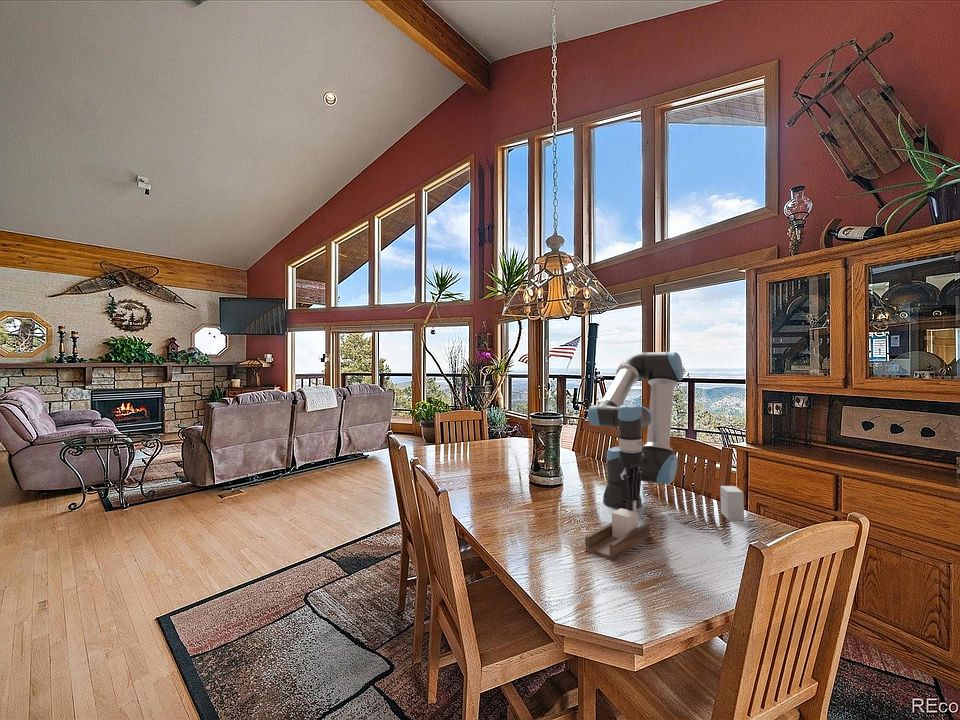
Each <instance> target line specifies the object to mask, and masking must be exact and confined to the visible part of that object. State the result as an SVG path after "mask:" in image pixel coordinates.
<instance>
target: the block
mask: <svg viewBox="0 0 960 720" xmlns="http://www.w3.org/2000/svg"><path fill="white" fill-rule="evenodd" d="M611 522H612V537H616V538H621V537H623V536H624V535H626V534H628V533H629V532H631V531H633V530H634V529H636V528H638V527H639V526H638V524H639V523H638V522H639V521H638V512H637V511H636V512H634V511H630V510H627V509H622V508H620V509H619V508H617V510H614V511H613V512H611Z"/></svg>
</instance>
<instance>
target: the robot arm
mask: <svg viewBox="0 0 960 720" xmlns="http://www.w3.org/2000/svg"><path fill="white" fill-rule="evenodd" d="M683 379H684V368H683V362H682V359H681V356H680V355H679V353H678V352H675V351H672V352H671V351H659V352H657V351H655V352H649V351H648V352H638V353H635V354H632V355H630V356H629V357H627V358H626V359H625V360H623V361H622V362H621V363H620V364H619V366H618V367H617V369H616V373H615V378H614V379H613V381H612V382H611V384H610V385H609V387H608V389H607V391H606V393H605V394H604V396H603V398H601V401H600V402H599V404H595V405H591V406H589V408H588V410H587V420H588V421H587V422H588V423H589V424H590V425H592V426H598V427H609V428H610V427H611V428H618V446H613V447H611V448H609V449H608V450H607V451H606V478H607V479H606V480H607V481H606V482H607V483H606V487H605V489H604V492H603V495H602V501H603V502H602V503H604V504H605V506H607V507H611V508H614V509H620V508H622V509H626V510H630V511H634V512H637V508H640V507H641V506H643V504H642V502H643V501H642V497H641V486H642V482H644V483H646V482H647V483H653V484H658V485H671V483H673V481H674V479H675V478H676V475H677V470H678V460H679V459H678V456H677V455H676V454H674V450H673V448H672V447H671V446H670V444H671V443H670V441H671V430H672V429H671V428H672V416H673V413H672V412H673V402H674V389H675V388H676V387H677V386H678V385H679V384H678V383H679V381H682V380H683ZM640 380H647V383H648V384H649V386H650V399H649V408H648V407H645V406H641V405H638V404H624V402H625V401H626V399H627V396H628V395H629V392H630V391H631V389H632V387H633V385H634V384H636V383H637V382H638V381H640ZM645 428H647V434H646V443H645V444H644V443H643V439H642V438H643V429H645Z"/></svg>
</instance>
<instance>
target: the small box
mask: <svg viewBox="0 0 960 720" xmlns="http://www.w3.org/2000/svg"><path fill="white" fill-rule="evenodd" d="M719 487H720V491H719V492H720V513H721V514H722V515H723V516H724V517H725V518H726V519H727V521H745V502H744V501H745V498H744V497H745V495H744V492H743V490H741V489H740V488H739V487H737V486H736V485H735V486H734V485H720V486H719Z"/></svg>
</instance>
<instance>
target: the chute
mask: <svg viewBox="0 0 960 720" xmlns="http://www.w3.org/2000/svg"><path fill="white" fill-rule="evenodd" d="M650 537H651V523H649V522H645V523H643V524H641V525H640V526H638V528H636V529H634V530H633V531H631V532H629V533H628V534H626V535H624V536H623V537H621V538H616V537H612V521H611V522H610V523H608V524H605V525H604V526H602V527H600V528H598V529H597V530H595V531H593V532H591V533H589V534H588V535H586V536H585V538H584V540H585V542H584V543H585V552H589V553H591V554H595V555H598V556H601V557H603V558H606V559H609V560H612V561H615V560H616V559H618V558H619V557H621V556H623V555H624V554H626V553H627V552H628V551H630V550H632V549H633V548H634V547H637V546H638V545H639V544H641V543H643V542H644V541H645V540H646V539H648V538H650Z"/></svg>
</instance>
